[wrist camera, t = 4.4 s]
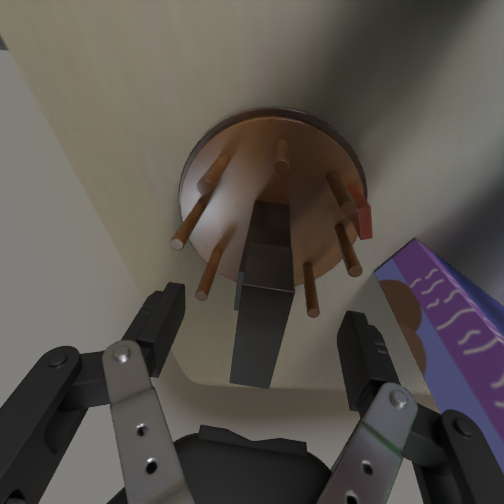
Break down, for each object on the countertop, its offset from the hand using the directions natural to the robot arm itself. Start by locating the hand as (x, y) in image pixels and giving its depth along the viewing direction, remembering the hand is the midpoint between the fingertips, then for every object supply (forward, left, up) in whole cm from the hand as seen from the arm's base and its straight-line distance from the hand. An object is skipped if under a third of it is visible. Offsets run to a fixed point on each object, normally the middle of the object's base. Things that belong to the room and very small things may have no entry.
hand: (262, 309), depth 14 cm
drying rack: (0, 0, -12) cm, 12 cm away
